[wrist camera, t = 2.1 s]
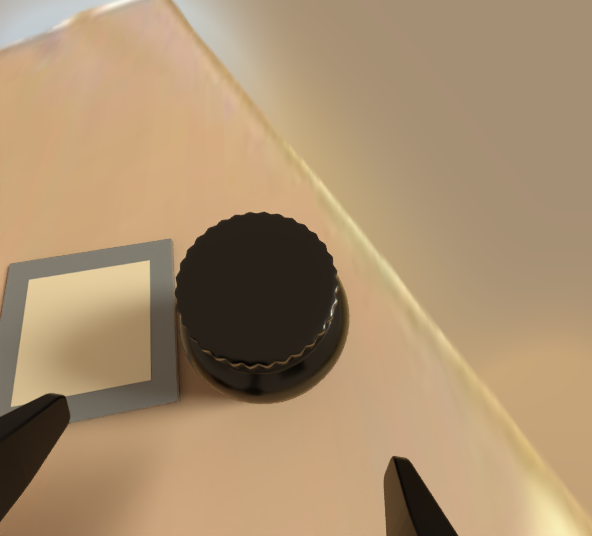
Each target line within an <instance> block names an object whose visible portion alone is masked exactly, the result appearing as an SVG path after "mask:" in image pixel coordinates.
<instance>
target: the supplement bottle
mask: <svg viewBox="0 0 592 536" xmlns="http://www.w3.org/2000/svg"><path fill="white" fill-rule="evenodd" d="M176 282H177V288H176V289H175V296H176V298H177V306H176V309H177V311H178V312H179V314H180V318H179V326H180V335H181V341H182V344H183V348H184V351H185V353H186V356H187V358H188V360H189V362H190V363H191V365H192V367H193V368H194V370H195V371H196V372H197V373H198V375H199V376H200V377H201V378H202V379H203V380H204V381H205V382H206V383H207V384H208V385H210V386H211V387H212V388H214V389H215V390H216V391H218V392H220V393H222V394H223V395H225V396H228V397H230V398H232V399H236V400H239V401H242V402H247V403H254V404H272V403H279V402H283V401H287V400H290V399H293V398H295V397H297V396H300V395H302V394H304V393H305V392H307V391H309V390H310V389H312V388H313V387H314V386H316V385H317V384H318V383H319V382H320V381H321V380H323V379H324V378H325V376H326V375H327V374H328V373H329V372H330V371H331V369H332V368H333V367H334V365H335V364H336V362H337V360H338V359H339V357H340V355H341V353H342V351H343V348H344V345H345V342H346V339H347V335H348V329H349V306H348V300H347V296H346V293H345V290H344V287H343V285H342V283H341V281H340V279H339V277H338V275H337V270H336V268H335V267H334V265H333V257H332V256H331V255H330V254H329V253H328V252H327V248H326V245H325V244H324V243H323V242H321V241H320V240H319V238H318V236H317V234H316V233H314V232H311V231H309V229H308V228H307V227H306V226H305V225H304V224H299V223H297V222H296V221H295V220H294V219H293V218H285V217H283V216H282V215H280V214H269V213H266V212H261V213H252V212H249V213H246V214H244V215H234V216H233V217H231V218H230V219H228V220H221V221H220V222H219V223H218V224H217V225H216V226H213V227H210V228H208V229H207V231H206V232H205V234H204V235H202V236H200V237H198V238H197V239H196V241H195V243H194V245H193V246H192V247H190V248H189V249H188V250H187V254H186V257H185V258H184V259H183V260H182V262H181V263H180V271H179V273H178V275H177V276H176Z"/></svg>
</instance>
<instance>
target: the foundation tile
mask: <svg viewBox="0 0 592 536" xmlns="http://www.w3.org/2000/svg"><path fill="white" fill-rule="evenodd" d="M48 393H56V394H61V395H64V396H65V397H66V399H67V402H68V407H69V411H70V415H71V417H70V421H69V423H73V422H78V421H83V420H88V419H93V418H98V417H103V416H108V415H113V414H118V413H123V412H128V411H133V410H138V409H143V408H148V407H153V406H158V405H163V404H168V403H173V402H178V401H180V396H179V373H178V350H177V327H176V305H175V282H174V259H173V241H172V240H171V239H165V240H158V241H152V242H146V243H139V244H133V245H127V246H120V247H114V248H107V249H101V250H95V251H88V252H82V253H76V254H69V255H63V256H56V257H50V258H44V259H37V260H31V261H25V262H18V263H12V264H10V266H9V271H8V277H7V283H6V289H5V295H4V301H3V307H2V312H1V318H0V416H2V415H4V414H6V413H8V412H10V411H12V410H14V409H16V408H18V407H20V406H22V405H24V404H26V403H29V402H31V401H33V400H35V399H37V398H39V397H41V396H43V395H45V394H48Z"/></svg>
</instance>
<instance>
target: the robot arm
mask: <svg viewBox="0 0 592 536" xmlns="http://www.w3.org/2000/svg"><path fill="white" fill-rule="evenodd" d="M70 417H71V415H70V411H69V407H68V402H67V399H66V397H65V396H64V395H61V394H56V393H48V394H45V395H43V396H41V397H39V398H37V399H35V400H33V401H31V402H29V403H26V404H24V405H22V406H20V407H18V408H16V409H14V410H12V411H10V412H8V413H6V414H4V415H2V416H0V522H1V520H2V519H3V518H4V516H5V515H6V514H7V513H8V511H9V510H10V509H11V507H12V506H13V505H14V503H15V502H16V501H17V500H18V498H19V497H20V496H21V494H22V493H23V492H24V490H25V489H26V488H27V486H28V485H29V483H30V482H31V481H32V479H33V478H34V476H35V475H36V473H37V472H38V470H39V469H40V467H41V466H42V464H43V462H44V461H45V459H46V458H47V456H48V455H49V453H50V452H51V450H52V449H53V447H54V446H55V444H56V442H57V441H58V439H59V438H60V436H61V435H62V433H63V432H64V430H65V429H66V427H67V425H68V423H69V421H70ZM384 500H385V517H386V535H387V536H458V534H457V533H456V531H455V530H454V528H453V527H452V525H451V524H450V522H449V520H448V519H447V517H446V516H445V514H444V513H443V511H442V510H441V508H440V507H439V505H438V503H437V502H436V500H435V499H434V497H433V496H432V494H431V493H430V491H429V490H428V488H427V486H426V485H425V483H424V482H423V480H422V479H421V477H420V476H419V474H418V473H417V471H416V469H415V468H414V466H413V465H412V463H411V462H410V461H409V460H408V459H407V458H403V457H398V456H393V457H392V458H391V459H390V462H389V465H388V467H387V470H386V472H385V475H384Z"/></svg>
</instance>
